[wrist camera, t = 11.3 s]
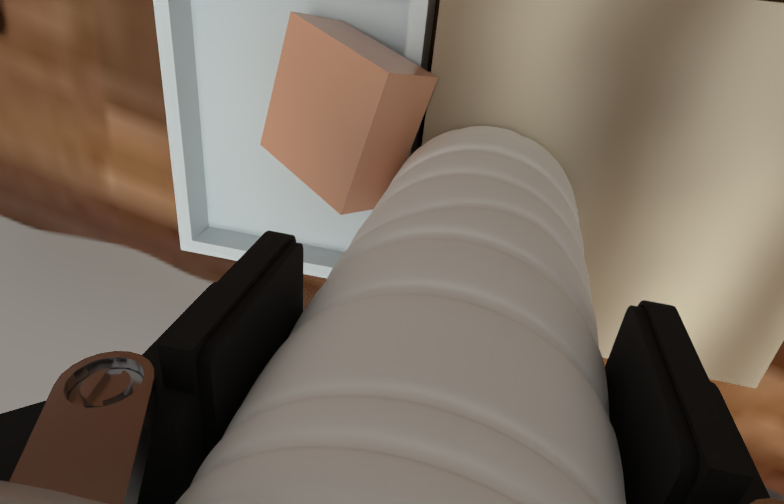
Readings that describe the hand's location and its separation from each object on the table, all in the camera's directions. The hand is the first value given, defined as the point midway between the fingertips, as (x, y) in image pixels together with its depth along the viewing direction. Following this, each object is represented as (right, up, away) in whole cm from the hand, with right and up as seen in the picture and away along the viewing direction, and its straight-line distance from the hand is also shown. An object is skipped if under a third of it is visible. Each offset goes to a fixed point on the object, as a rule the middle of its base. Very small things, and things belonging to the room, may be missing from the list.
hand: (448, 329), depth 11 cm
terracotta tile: (-2, +7, +9) cm, 11 cm away
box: (-5, +7, +12) cm, 14 cm away
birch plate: (+7, +5, +10) cm, 13 cm away
